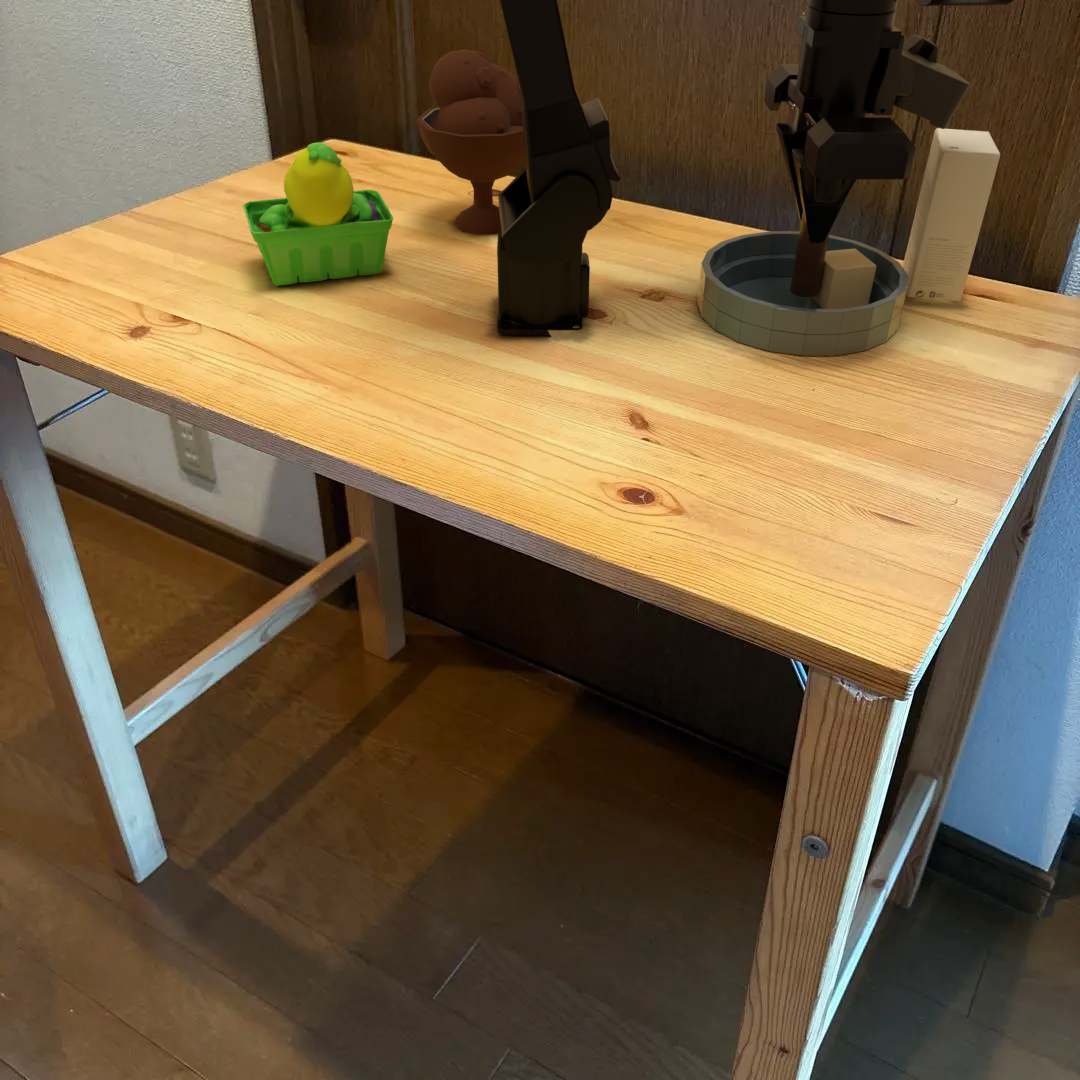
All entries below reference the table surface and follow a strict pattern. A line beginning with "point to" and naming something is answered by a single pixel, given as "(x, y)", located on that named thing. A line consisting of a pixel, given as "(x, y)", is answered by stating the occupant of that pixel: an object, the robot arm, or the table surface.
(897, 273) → the bowl
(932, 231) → the cosmetic box
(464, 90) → the ice cream bowl
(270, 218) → the fruit basket
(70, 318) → the table surface
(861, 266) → the block
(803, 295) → the stick
